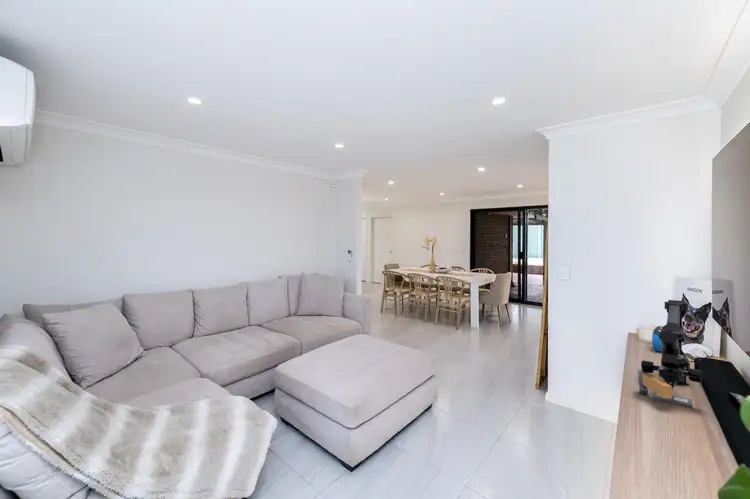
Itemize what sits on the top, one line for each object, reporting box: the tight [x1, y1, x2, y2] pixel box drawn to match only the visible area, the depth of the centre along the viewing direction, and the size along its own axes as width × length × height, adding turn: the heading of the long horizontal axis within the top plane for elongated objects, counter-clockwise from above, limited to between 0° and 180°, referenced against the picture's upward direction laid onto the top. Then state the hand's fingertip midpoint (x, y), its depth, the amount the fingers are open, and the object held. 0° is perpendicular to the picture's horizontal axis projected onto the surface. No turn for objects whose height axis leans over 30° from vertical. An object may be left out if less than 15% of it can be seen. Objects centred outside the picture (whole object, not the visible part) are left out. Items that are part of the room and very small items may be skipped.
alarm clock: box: [651, 325, 663, 353], centre depth 199 cm, size 13×6×15 cm, turn 131°
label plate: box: [651, 391, 694, 409], centre depth 137 cm, size 12×7×1 cm, turn 46°
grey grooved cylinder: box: [638, 384, 649, 396], centre depth 144 cm, size 3×3×4 cm
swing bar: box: [637, 368, 673, 399], centre depth 137 cm, size 17×4×6 cm, turn 170°
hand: (670, 390), depth 131 cm, fingers closed
